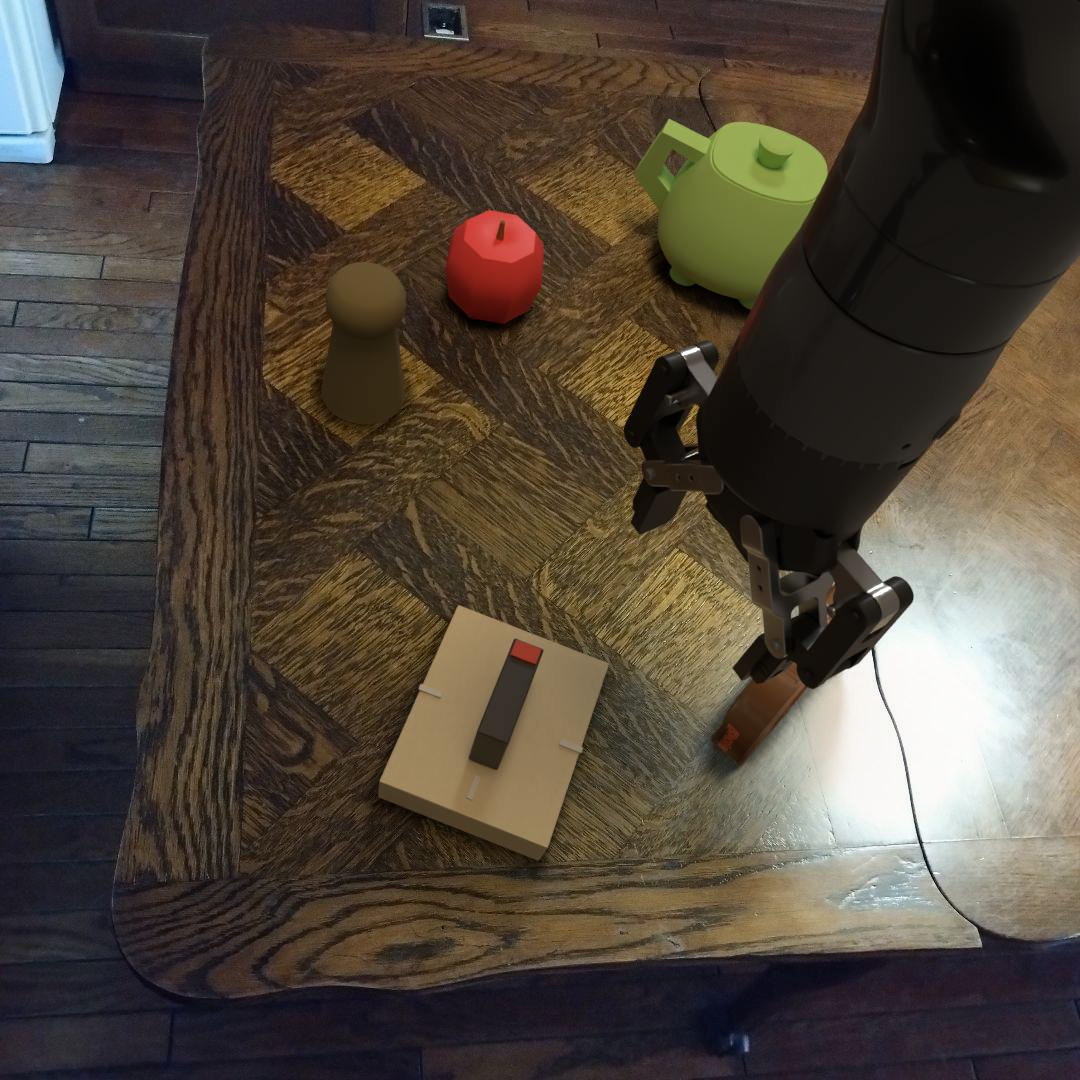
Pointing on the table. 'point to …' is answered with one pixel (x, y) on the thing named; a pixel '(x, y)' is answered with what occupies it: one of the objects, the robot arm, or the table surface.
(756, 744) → the tin
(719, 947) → the table surface
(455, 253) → the apple
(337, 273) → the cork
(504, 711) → the red tipped black brick
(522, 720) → the panel
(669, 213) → the teapot
